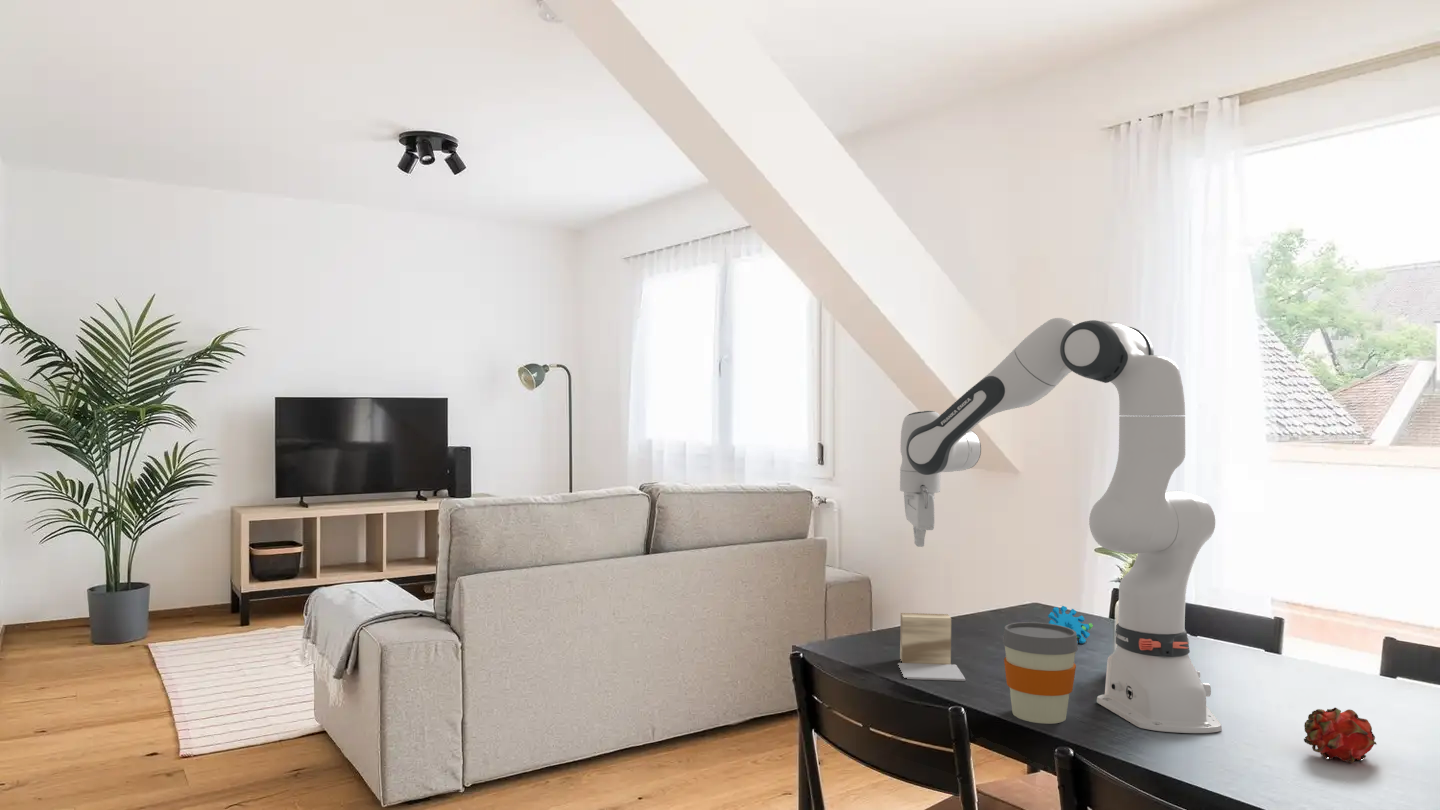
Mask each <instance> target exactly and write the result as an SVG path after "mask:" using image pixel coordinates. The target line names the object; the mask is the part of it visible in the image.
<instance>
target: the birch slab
mask: <svg viewBox="0 0 1440 810" xmlns="http://www.w3.org/2000/svg"><path fill="white" fill-rule="evenodd" d="M899 630H900V634H899V635H900V636H899V637H900V638H899V640H900V641H899V644H900V645H899V647H900V648H899V660H900V659H901V660H900V662H901V661H902V663H919V664H951V665H952V663H951V661H952V617H951V616H950V614H948V613H921V612H919V613H918V612H917V613H916V612H915V613H914V612H900V629H899Z"/></svg>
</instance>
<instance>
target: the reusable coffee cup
mask: <svg viewBox="0 0 1440 810" xmlns="http://www.w3.org/2000/svg"><path fill="white" fill-rule="evenodd" d="M1003 628H1004V629H1003V636H1002V637H1003V638H1002V644H1003V646H1004V650H1005V651H1004V652H1005V657H1004V658H1003V662H1004V670H1005V671H1004V672H1005V680H1006V685H1007V686H1008V688H1009V695H1010V703H1011V711H1012V712H1011V713H1012V714H1013V716H1014V717H1016V718H1018V719H1019V720H1023V721H1025V722H1030V723H1036V724H1047V725H1049V724H1058V723H1059V724H1060V723H1062V722H1064V721H1066V719H1067V715H1068V714H1067V712H1068V707H1069V700H1070V699H1069V698H1070V694H1071V693H1072V692H1073V688H1074V683H1075V682H1074V681H1075V675H1076V670H1077V669H1076V668H1077V664H1076V663H1075V658H1076V657H1075V656H1076V652H1077V651H1078V649H1079V648H1078V647H1079V646H1078V643H1077V641H1078V638H1077V635H1076V632H1075V631H1074V630H1072V629H1070V628H1067V627H1064V626H1059V625H1054V624H1049V623H1048V622H1047V623H1045V622H1032V621H1030V622H1029V621H1027V622H1026V621H1025V622H1024V621H1023V622H1013V623H1009V624H1006V625H1005V626H1004V627H1003Z"/></svg>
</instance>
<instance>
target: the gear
mask: <svg viewBox="0 0 1440 810" xmlns="http://www.w3.org/2000/svg"><path fill="white" fill-rule="evenodd" d="M1067 610H1068V607H1067V606H1064V605H1062V606H1060V608H1059V607H1058V606H1056V607H1053V608H1052V610H1051V611H1050V613H1049V614H1048V615H1047V617H1048V618H1049V619H1050V620H1049V621H1048V624H1054V625H1059V626H1064V627H1067V628H1070V629H1072V630H1074V631H1075V632H1076V635H1077V639H1078V640H1077V644H1078V643H1079V644H1085V643H1086V642H1087V639H1088V638H1089V637H1090V635H1091V633H1090V632H1089V631H1090V630H1091V629H1092V628H1093V626H1094V625H1093V623H1092V622H1089V623H1083V622H1084V621H1085V620H1086V619H1085V617H1084V616H1083V615H1080V616H1075V615H1076V614H1077V611H1076V610H1075V609H1074V608H1071V610H1070V611H1069V613H1066V612H1067ZM1060 611H1061V613H1060Z"/></svg>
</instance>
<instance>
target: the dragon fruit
mask: <svg viewBox="0 0 1440 810" xmlns="http://www.w3.org/2000/svg"><path fill="white" fill-rule="evenodd" d="M1307 717H1308V718H1307V720H1306V721H1305V722H1304V725H1303V727H1304V732H1305V733H1306V736H1304V738H1303V742H1304V743H1306V744H1307V745H1309V746H1312V747H1311V748H1312V749H1311V750H1312V751H1313V752H1316V753H1320V754H1321V755H1322V756H1323V757H1324V758H1325V759H1326V758H1327V757H1329V759H1330V760H1332V759H1333V758H1335V757H1337V758H1339V759H1340V760H1341V761H1343V762H1348V763H1349V764H1352V763H1354V762H1355V760H1356V759H1357V761H1359V760H1361V759H1363V758H1364V759H1365V758H1367V755H1366V754H1367V753H1369V752H1370V751H1371V750H1372V748H1373V747H1374V746H1375V745H1377V742H1376V741H1375V739H1376V737H1375V736H1376V735H1375V734H1374V733H1373V731H1372V730H1373V727H1372V725H1371V723H1370V721H1369V720H1368V719H1366V718H1361V717H1359V715H1358V713H1357V712H1355V711H1354V710H1353V709H1351V708H1350V709H1345V710H1344V711H1341V710H1340V708H1338V707H1333V708H1329V709H1328V708H1327V710H1324V709H1321V708H1317V709H1315V710H1313V711H1311V713H1310V714H1308V715H1307ZM1364 759H1363V760H1364Z"/></svg>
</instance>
